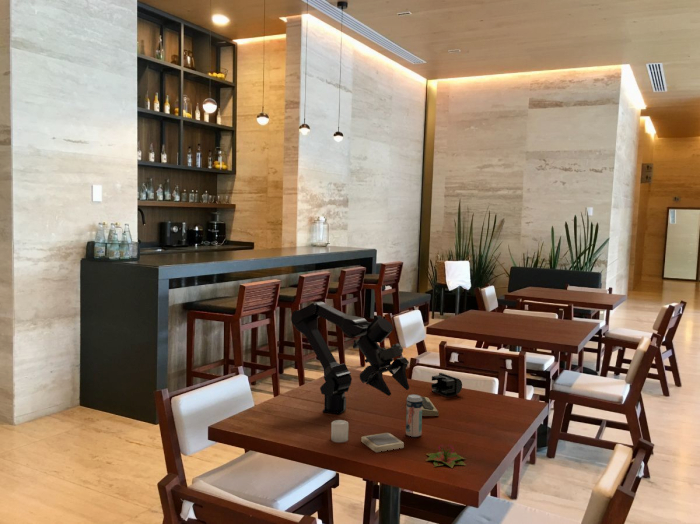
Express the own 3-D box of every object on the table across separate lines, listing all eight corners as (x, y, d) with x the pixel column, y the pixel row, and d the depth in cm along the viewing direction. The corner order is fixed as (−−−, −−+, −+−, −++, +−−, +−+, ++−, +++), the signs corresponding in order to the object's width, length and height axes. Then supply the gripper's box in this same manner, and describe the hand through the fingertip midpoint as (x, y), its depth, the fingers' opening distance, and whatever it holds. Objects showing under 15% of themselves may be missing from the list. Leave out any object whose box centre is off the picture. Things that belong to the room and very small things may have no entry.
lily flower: (459, 452, 172) (460, 436, 172) (474, 469, 160) (474, 452, 160) (418, 454, 170) (419, 438, 170) (430, 471, 159) (430, 454, 158)
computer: (438, 417, 202) (439, 408, 202) (414, 418, 201) (415, 408, 201) (429, 403, 218) (429, 394, 217) (406, 404, 217) (406, 394, 217)
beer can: (404, 432, 186) (405, 394, 185) (419, 432, 187) (420, 393, 186) (407, 437, 181) (408, 398, 181) (422, 437, 182) (423, 398, 181)
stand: (361, 441, 178) (361, 436, 178) (388, 437, 182) (388, 432, 182) (376, 452, 170) (376, 446, 170) (403, 447, 174) (403, 442, 173)
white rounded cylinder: (328, 441, 178) (329, 424, 177) (334, 435, 183) (334, 419, 182) (345, 443, 176) (345, 426, 176) (350, 437, 181) (350, 421, 181)
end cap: (462, 395, 228) (462, 377, 227) (447, 398, 224) (448, 380, 223) (444, 388, 236) (445, 371, 236) (430, 391, 232) (430, 373, 232)
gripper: (367, 340, 183) (395, 383, 176) (404, 332, 197) (432, 371, 190) (347, 361, 188) (374, 404, 182) (385, 352, 202) (411, 391, 196)
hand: (399, 392), depth 187 cm, fingers open, 9 cm apart
